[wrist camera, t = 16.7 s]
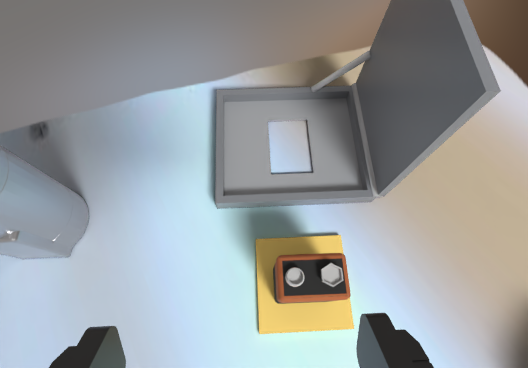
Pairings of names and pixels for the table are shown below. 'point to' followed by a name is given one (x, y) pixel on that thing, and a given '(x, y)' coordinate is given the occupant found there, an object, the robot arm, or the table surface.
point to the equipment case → (360, 113)
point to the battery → (310, 278)
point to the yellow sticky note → (297, 314)
